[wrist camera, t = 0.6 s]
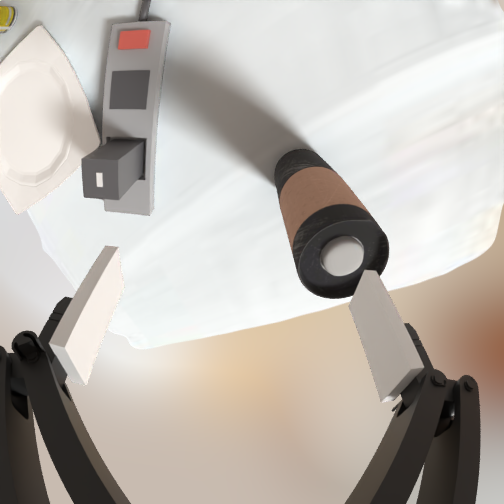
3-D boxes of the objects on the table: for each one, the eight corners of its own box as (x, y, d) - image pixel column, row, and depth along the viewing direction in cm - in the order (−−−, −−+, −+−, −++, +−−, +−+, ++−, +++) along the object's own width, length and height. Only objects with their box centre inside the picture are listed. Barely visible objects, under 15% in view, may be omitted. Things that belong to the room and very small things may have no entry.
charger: (113, 138, 33) (80, 159, 25) (145, 140, 33) (117, 160, 26) (113, 170, 35) (83, 197, 28) (143, 172, 36) (118, 200, 28)
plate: (25, 216, 39) (17, 223, 37) (-29, 113, 27) (-39, 117, 24) (119, 141, 34) (111, 146, 32) (53, 15, 22) (43, 13, 19)
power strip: (124, 0, 23) (115, -5, 20) (176, -4, 23) (170, -10, 21) (110, 204, 39) (102, 213, 37) (153, 208, 40) (148, 218, 37)
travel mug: (275, 203, 40) (297, 306, 23) (269, 150, 36) (292, 224, 19) (329, 196, 39) (384, 292, 23) (327, 144, 35) (396, 212, 19)
